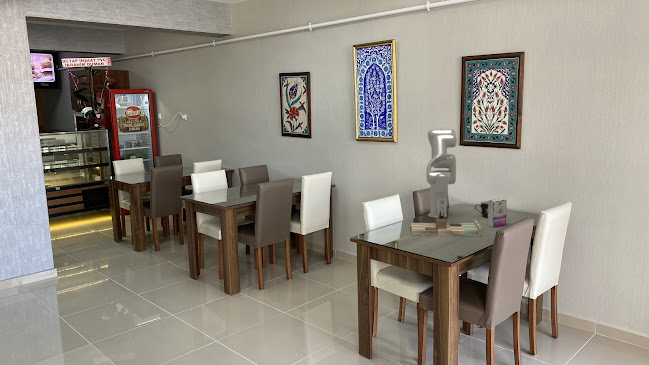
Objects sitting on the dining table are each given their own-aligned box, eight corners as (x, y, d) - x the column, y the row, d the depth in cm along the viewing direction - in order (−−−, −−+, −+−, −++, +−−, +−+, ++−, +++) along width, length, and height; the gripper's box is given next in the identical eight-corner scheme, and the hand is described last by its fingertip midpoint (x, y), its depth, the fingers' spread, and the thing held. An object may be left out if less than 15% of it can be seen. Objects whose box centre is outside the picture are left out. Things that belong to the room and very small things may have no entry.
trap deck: (410, 227, 304) (410, 219, 303) (475, 228, 298) (475, 219, 297) (411, 235, 285) (411, 226, 284) (480, 236, 280) (480, 226, 279)
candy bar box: (500, 223, 308) (500, 198, 305) (506, 225, 303) (507, 199, 301) (487, 226, 303) (487, 200, 300) (493, 227, 298) (494, 201, 296)
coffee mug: (495, 216, 327) (495, 201, 326) (492, 219, 320) (492, 204, 319) (477, 214, 334) (478, 200, 332) (474, 217, 326) (474, 202, 325)
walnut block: (435, 226, 293) (435, 218, 293) (445, 226, 292) (446, 218, 292) (436, 228, 288) (436, 220, 287) (446, 228, 287) (446, 220, 286)
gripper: (449, 196, 285) (448, 227, 287) (446, 192, 299) (446, 221, 302) (436, 196, 286) (435, 226, 289) (434, 192, 300) (434, 221, 303)
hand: (441, 223), depth 295 cm, fingers closed
